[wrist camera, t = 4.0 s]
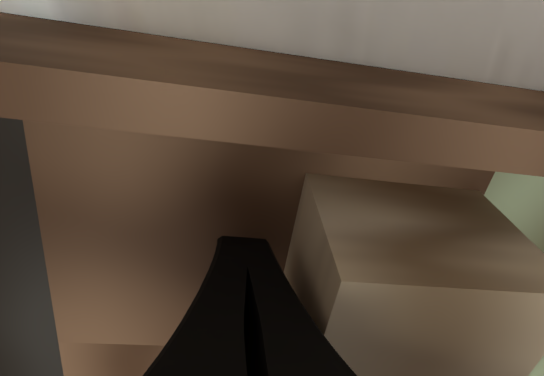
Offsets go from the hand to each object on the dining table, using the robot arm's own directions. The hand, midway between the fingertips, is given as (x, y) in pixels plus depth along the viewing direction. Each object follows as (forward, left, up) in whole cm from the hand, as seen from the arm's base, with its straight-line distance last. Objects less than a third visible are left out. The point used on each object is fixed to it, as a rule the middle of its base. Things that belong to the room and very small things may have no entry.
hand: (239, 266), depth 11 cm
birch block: (-4, 0, -1) cm, 4 cm away
